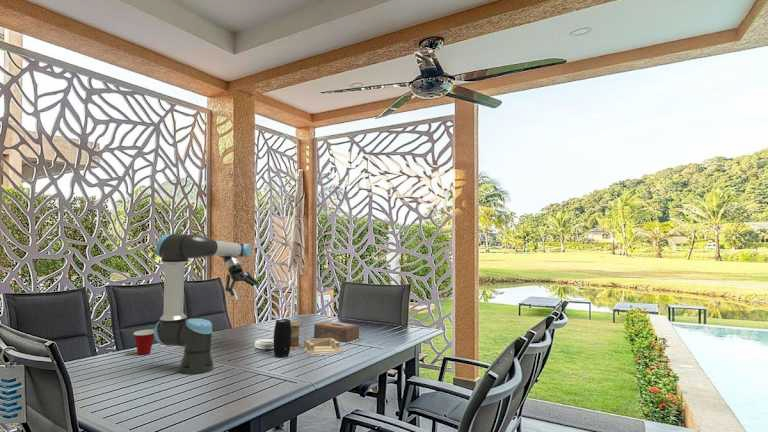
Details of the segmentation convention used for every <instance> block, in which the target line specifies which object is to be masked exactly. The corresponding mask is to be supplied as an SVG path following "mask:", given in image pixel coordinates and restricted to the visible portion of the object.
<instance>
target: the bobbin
mask: <svg viewBox="0 0 768 432" xmlns="http://www.w3.org/2000/svg"><path fill="white" fill-rule="evenodd" d="M290 322H291V347H290V348H291V349H295V348H300V347H303V346H302V344H299V343H300V327H303V326H304V325H303V322H300V321H299V322H298V321H290ZM291 349H290V350H291Z"/></svg>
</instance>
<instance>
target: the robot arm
mask: <svg viewBox="0 0 768 432" xmlns="http://www.w3.org/2000/svg"><path fill="white" fill-rule="evenodd" d="M155 252H156V255H157V256H158V257H159V258H161V263H162V264H163V265H164V283H163V284H164V286H163V287H164V288H163V291H164V292H163V314H162V316H160V317H159V321H157V322H156V323H155V326H154V328H153V330H154V339H155V342H157V343H158V344H160V345H163V346H167V347H170V346H173V347H174V346H175V347H184V353H183V356H182V359H181V361H180V363H179V367H178V372H179V373H181V374H185V375H194V374H196V375H197V374H203V373H208V372H211V371H212V370H214V367H215V366H214V364H215V362H214V360H213V356H212V338H213V337H212V336H213V323H212V321H210V320H209V319H204V318H189V319H187V315H186V314H184V296H185V292H184V291H185V265H186V264H187V263H188V262H189V259H197V258H199V259H200V258H211V257H214V256H217V257H219V258H221V259H222V260H223V262H224V264H225V266H226V269H227V271H228V274H227V275H226V276H225V281H226V282H225V287H224V288H225V292H228V293H229V294H230V296H231V297H233V300H234V302H237V301H238V300H239V297H238V295H237V293H236V290H235V289H234V286H235V283H236V282H245V283H247V284H248V285H249V286H251V287H252V288H251V289H252V291H253V293H254V295H255V297H256V298H258V297H259V296H260V293H259V289H258V288H259V287H258V284H259V281H257V280H256V278H254V277H253V276H252V275H251V274H250V273H249V271H246V272H243V271H244V270H243V268H242V265H241V263H240V261H239V259H238V257H241V258H244V257H246V258H247V257H250V256H251V254H252V245H251V244H250V243H239V242H230V241H222V240H216V239H215V238H212V237H206V236H202V235H198V234H191V233H190V234H188V233H187V234H185V233H184V234H183V233H182V234H181V233H180V234H179V233H168V234H167V233H166V234H164V235H162V236H160V238H159V239H158V241H157V242H156V246H155ZM231 279H232V281H231ZM230 282H231V284H230Z"/></svg>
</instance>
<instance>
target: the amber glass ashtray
mask: <svg viewBox="0 0 768 432" xmlns="http://www.w3.org/2000/svg"><path fill="white" fill-rule="evenodd" d="M340 345H341V344H340V343H339V342H338V341H336V340H334V339H333V338H322V339H314V338H310V339H304V341H303V346H302V348H303V349H304V350H305V351H306V352H308V353H309V354H310V355H319V354H332V353H340V352H343V353H344V350H342V349H341V348H340ZM302 348H301V349H302ZM304 350H303V351H304ZM305 351H304V352H305ZM306 352H305V353H306Z"/></svg>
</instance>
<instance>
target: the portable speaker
mask: <svg viewBox="0 0 768 432" xmlns="http://www.w3.org/2000/svg"><path fill="white" fill-rule="evenodd" d="M291 322H292V321H291V320H290V319H289V318H283V319H276V320H275V324H274V329H273V355H274V357H275V356H276V357H275V358H277V357H281V358H282V357H286V356H288V355H289V356H290V351H291V349H290V347H291ZM289 356H288V357H289Z"/></svg>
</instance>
